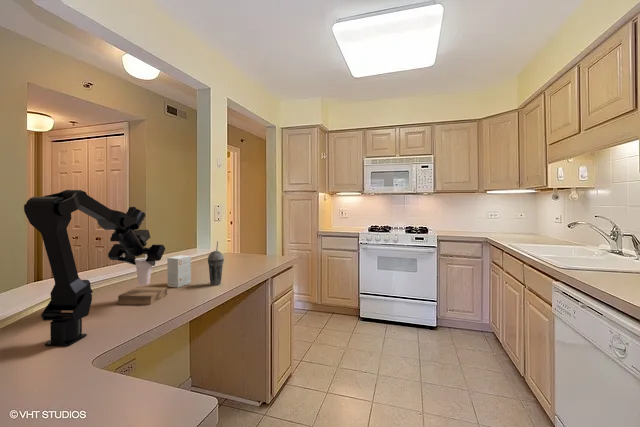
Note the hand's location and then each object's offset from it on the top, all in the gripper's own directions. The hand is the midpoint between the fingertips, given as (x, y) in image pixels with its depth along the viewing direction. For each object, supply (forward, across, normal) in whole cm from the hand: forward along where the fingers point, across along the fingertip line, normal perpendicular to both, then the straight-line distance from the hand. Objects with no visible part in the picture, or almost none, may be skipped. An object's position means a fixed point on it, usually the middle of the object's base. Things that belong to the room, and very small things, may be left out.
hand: (146, 264), depth 118 cm
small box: (+23, -4, -5) cm, 24 cm away
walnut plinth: (+9, 0, +10) cm, 13 cm away
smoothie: (+4, 0, +6) cm, 7 cm away
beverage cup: (+25, -20, -6) cm, 32 cm away
